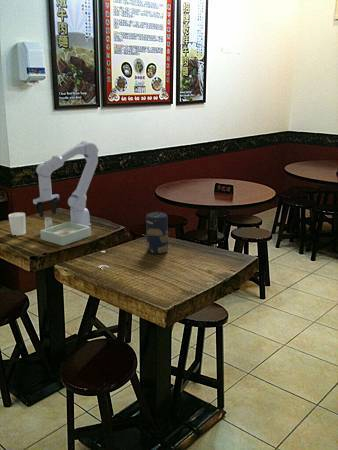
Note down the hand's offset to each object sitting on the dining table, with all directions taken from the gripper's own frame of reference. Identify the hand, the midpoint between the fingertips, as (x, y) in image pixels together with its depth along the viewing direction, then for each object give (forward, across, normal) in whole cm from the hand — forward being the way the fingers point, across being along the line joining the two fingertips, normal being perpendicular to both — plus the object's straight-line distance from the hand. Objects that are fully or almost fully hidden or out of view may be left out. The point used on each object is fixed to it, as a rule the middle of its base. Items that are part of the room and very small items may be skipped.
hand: (47, 215), depth 236 cm
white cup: (+9, +11, -10) cm, 17 cm away
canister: (+9, -10, +62) cm, 63 cm away
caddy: (+9, +1, +14) cm, 17 cm away
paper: (+9, +14, +53) cm, 55 cm away
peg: (+9, 0, 0) cm, 9 cm away
